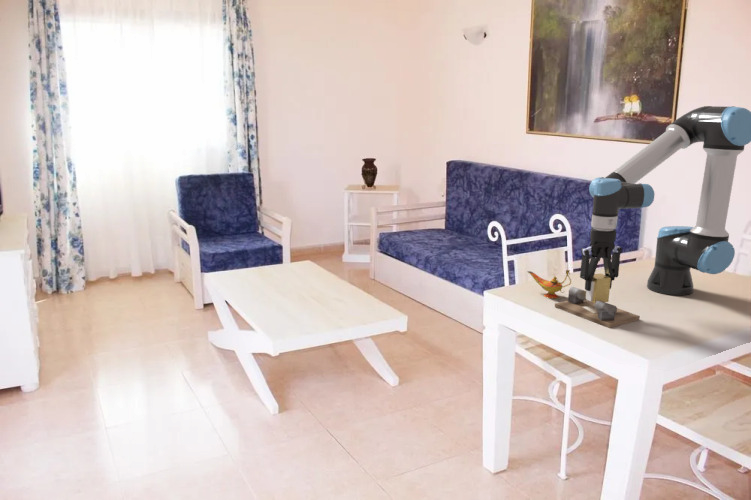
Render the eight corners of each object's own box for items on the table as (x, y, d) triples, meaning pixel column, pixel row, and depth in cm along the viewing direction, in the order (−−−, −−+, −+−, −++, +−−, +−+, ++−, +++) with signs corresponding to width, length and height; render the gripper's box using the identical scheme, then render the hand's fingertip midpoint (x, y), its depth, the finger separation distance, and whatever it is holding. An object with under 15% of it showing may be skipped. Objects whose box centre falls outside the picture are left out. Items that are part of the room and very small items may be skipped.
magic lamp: (532, 287, 226) (534, 258, 223) (575, 299, 213) (577, 268, 210) (520, 290, 222) (522, 261, 219) (563, 303, 208) (566, 272, 206)
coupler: (598, 297, 201) (601, 273, 199) (608, 301, 197) (610, 277, 195) (585, 298, 200) (587, 274, 198) (594, 303, 195) (597, 279, 193)
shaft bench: (639, 319, 194) (641, 301, 192) (609, 327, 187) (610, 309, 185) (584, 300, 212) (585, 283, 210) (554, 306, 205) (556, 289, 204)
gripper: (585, 232, 187) (578, 305, 192) (636, 229, 191) (628, 300, 197) (571, 227, 194) (565, 298, 199) (621, 224, 198) (614, 293, 204)
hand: (596, 299), depth 198 cm, fingers closed on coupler, 5 cm apart
